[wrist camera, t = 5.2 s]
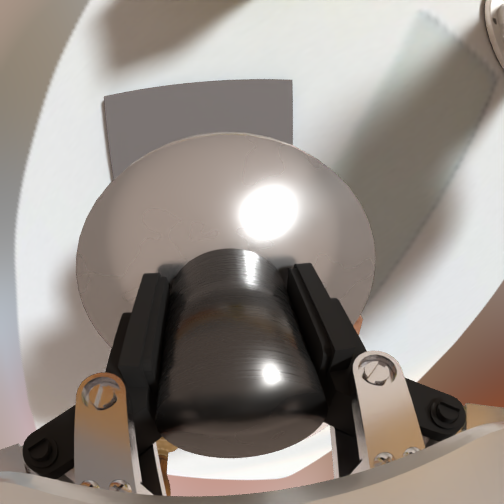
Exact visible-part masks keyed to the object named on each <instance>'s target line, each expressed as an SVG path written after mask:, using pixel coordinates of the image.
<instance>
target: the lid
mask: <svg viewBox="0 0 504 504" xmlns="http://www.w3.org/2000/svg"><path fill="white" fill-rule="evenodd" d="M300 263H311V264H312V265H313V267H314V269H315V271H316V272H317V274H318V276H319V278H320V280H321V282H322V283H323V285H324V287H325V289H326V291H327V293H328V294H329V296H330V298H337V299H338V300H339V301H340V303H341V305H342V307H343V308H344V310H345V312H346V314H347V316H348V317H349V319H350V321H351V323H352V325H354V324H355V322H356V321H357V319H358V318H359V316H360V315H361V312H362V310H363V308H364V306H365V304H366V302H367V300H368V297H369V294H370V291H371V288H372V284H373V278H374V273H375V246H374V238H373V234H372V230H371V227H370V223H369V220H368V218H367V216H366V214H365V212H364V210H363V207H362V205H361V203H360V202H359V201H358V199H357V198H356V196H355V195H354V193H353V192H352V190H351V189H350V188H349V187H348V185H347V184H346V183H345V182H344V181H343V180H342V179H341V178H340V177H339V176H338V175H337V174H336V173H335V172H334V171H332V170H331V169H330V168H328V167H327V166H326V165H324V164H323V163H322V162H320V161H319V160H318V159H316V158H315V157H313V156H311V155H310V154H308V153H306V152H304V151H302V150H300V149H298V148H297V147H295V146H293V145H291V144H288V143H285V142H282V141H280V140H277V139H274V138H271V137H267V136H262V135H256V134H251V133H245V132H214V133H206V134H198V135H193V136H190V137H186V138H182V139H179V140H175V141H172V142H170V143H168V144H165V145H163V146H161V147H159V148H157V149H154V150H152V151H151V152H149V153H147V154H146V155H144V156H143V157H141V158H140V159H138V160H137V161H135V162H133V163H132V164H131V165H130V166H129V167H128V168H127V169H125V170H124V171H123V172H122V173H121V174H120V175H119V176H118V177H117V178H115V179H114V180H113V181H112V182H111V183H110V184H109V185H108V187H107V188H106V189H105V190H104V192H103V193H102V194H101V195H100V197H99V198H98V199H97V200H96V202H95V204H94V206H93V207H92V209H91V211H90V213H89V215H88V216H87V218H86V221H85V223H84V226H83V229H82V232H81V235H80V238H79V243H78V249H77V255H76V276H77V283H78V289H79V293H80V296H81V300H82V303H83V306H84V308H85V310H86V312H87V314H88V317H89V319H90V321H91V322H92V324H93V325H94V327H95V328H96V330H97V331H98V333H99V334H100V335H101V337H102V338H103V339H104V340H105V341H106V343H107V344H108V345H109V346H110V347H111V348H112V346H113V342H114V339H115V335H116V332H117V329H118V325H119V322H120V319H121V316H122V314H123V313H124V312H132V309H133V306H134V303H135V299H136V296H137V292H138V289H139V286H140V283H141V279H142V276H143V274H144V273H160V274H161V277H167V280H168V286H169V291H170V301H169V308H168V315H167V322H166V329H165V336H164V344H163V352H162V361H161V369H160V379H159V389H158V399H157V410H156V427H157V429H158V431H159V433H160V434H161V436H162V437H163V438H164V439H165V440H167V441H168V442H169V443H171V444H172V445H174V446H176V447H178V448H180V449H182V450H185V451H188V452H191V453H194V454H198V455H203V456H209V457H217V458H243V457H252V456H258V455H264V454H268V453H272V452H275V451H279V450H282V449H284V448H287V447H290V446H292V445H294V444H296V443H298V442H300V441H302V440H304V439H305V438H307V437H308V436H310V435H311V434H312V433H314V432H315V431H316V430H317V429H318V428H319V427H320V426H321V425H322V423H323V422H324V420H325V418H326V417H327V413H328V404H327V401H326V398H325V395H324V392H323V389H322V386H321V383H320V381H319V378H318V375H317V372H316V369H315V366H314V364H313V361H312V358H311V355H310V352H309V350H308V347H307V344H306V341H305V339H304V336H303V333H302V330H301V327H300V325H299V322H298V319H297V316H296V314H295V311H294V308H293V306H292V303H291V300H290V297H289V295H288V292H287V278H288V270H289V268H293V267H294V264H300Z"/></svg>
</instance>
